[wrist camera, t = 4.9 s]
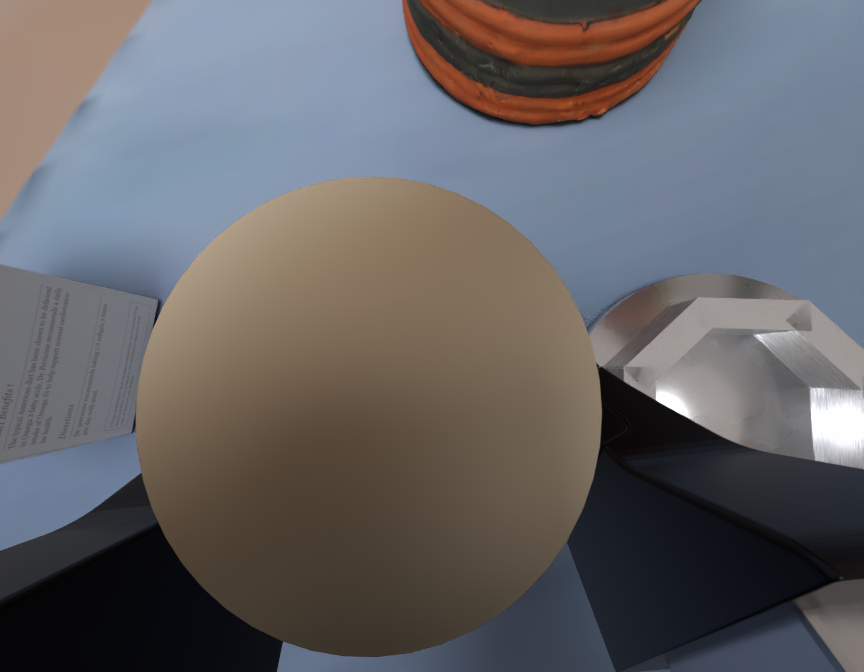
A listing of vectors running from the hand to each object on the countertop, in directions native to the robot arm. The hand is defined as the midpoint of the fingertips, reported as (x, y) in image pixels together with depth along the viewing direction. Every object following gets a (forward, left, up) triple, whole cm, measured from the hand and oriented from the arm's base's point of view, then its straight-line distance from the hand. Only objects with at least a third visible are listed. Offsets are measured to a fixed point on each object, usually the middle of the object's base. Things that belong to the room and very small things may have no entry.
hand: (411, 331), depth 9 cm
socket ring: (-11, -7, -7) cm, 15 cm away
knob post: (-1, +1, -7) cm, 7 cm away
